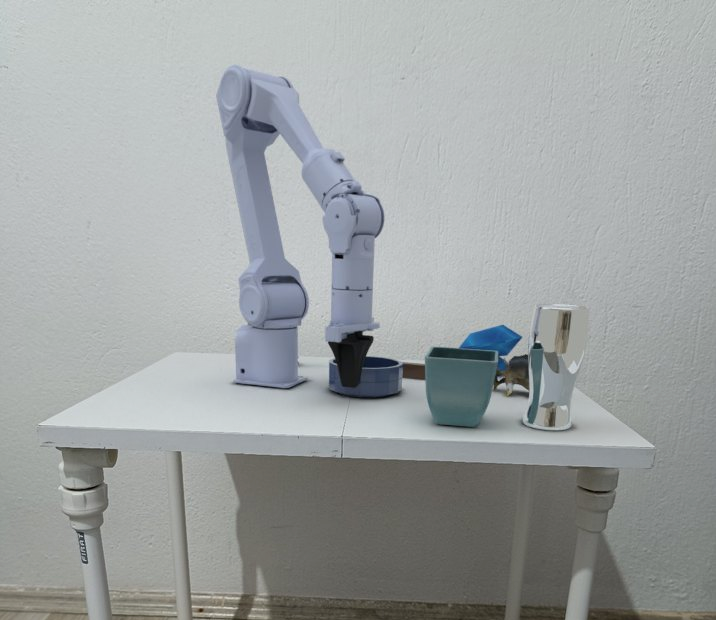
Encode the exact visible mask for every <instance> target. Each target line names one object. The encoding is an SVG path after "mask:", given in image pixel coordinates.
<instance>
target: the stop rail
mask: <svg viewBox="0 0 716 620" xmlns="http://www.w3.org/2000/svg"><path fill="white" fill-rule="evenodd" d="M401 362H402V363H403V376H402V379H403V378H404V379H414V380H424V381H426V380H425V363H418V362H408V361H401Z"/></svg>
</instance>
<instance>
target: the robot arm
mask: <svg viewBox="0 0 716 620" xmlns="http://www.w3.org/2000/svg"><path fill="white" fill-rule="evenodd" d="M215 98H216V103H217V107H218V113H219V117H220V122H221V127H222V132H223V135H224V137H225V147H226V155H227V158H228V163H229V169H230V173H231V178H232V182H233V187H234V192H235V198H236V202H237V207H238V212H239V217H240V222H241V227H242V232H243V236H244V241H245V247H246V252H247V256H248V261H249V264H248V266H247V267H246V269H244V271H243V272H242V273H241V274H240V276H239V277H238V278H237V281H238V286H239V297H238V304H239V305H238V306H239V310H240V313H241V315H242V318H244V321H246V324H242V325H241V326H240V327H239V328H238V329H237V331H236V335H235V339H234V350H235V351H234V354H235V355H234V357H235V379H233V383H235V384H243V385H244V384H245V385H253V386H262V387H272V388H280V389H281V388H282V389H289V388H291V387H294V386H296V385H298V384H300V383H303V382H305V381H307V380H308V377H307V376H304V375H303V376H302V375H299V364H298V362H299V358H298V357H299V327H300V326H302V320H303V319H304V318H305V317H306V316H307V314H308V311H309V307H310V300H309V299H310V298H309V294H308V290H307V289H306V287H305V286H304V284H303V282H302V279H301V275H300V271H299V269H297V268H296V267H295V266H294V265H293V264H291V262H290V261H288V260H287V259H286V256H285V252H284V246H283V241H282V236H281V231H280V226H279V221H278V216H277V212H276V211H277V210H276V205H275V201H274V196H273V191H272V186H271V185H272V184H271V181H270V176H269V170H268V166H267V165H268V164H267V161H266V155H265V152H266V150H267V148H268V147H269V146H271V145H273V144H274V143H275V141H276V140H277V138H278V137H279V136H281V137H282V138H283V140H284V141H285V142H286V144H287V145H288V146H289V148H290V149H291V150H292V152H293V153H294V154H295V156H296V157H297V158H298V160H299V161H300V162H301V164H302V166H301V178H302V180H303V182H304V183H305V185H306V186H307V188H308V189H309V191H310V192H311V194H312V196H313V197H314V199H315V200H316V202H317V203H318V205H319V206H320V208H321V210H322V211H323V212H324V215H322V225H323V229H324V231H325V233H326V235H327V237H328V249H329V252H330V253H331V292H330V293H331V295H330V301H331V302H330V320H329V322H328V325H326V326H325V328H324V329H325V330H324V341H325V342H327V344H328V346H329V348H330V350H331V351H332V355H333V356H334V357H333V358H335V360H336V363H337V367H338V372H339V377H340V381H341V385H342V387H350V388H356V387H357V386H358V383H359V380H360V376H361V372H362V368H363V364H364V360H365V357H366V356H368V352H369V350H370V349H371V346H372V345H373V343H374V338H375V337H374V336H373V335H369V334H368V335H366V334H364V332H365V333H366V332H373V331H374V330H377V329H380V328H381V323H380V322H377V321H376V322H375V317H374V316H373V293H374V290H373V289H374V272H375V271H374V266H375V245H376V244H375V241H376V238H378V237H379V236H380V234H381V233H382V231H383V228H384V226H385V211H384V207H383V205H382V203H381V200H380V198H379V197H377V196H376V195H374V194H368V193H367V192H366V191H365V190H362V185H361V183H360V182H359V181H357V180H356V179H355V177H353V175H352V173H351V172H350V170H349V168H348V167H347V166H346V164H345V163H344V162H345V160H346V158H345V156H344V155H343V154H342V152H341V151H336V150H334V149H332V148H329V147H328V148H326V147H325V148H324V147H323V145H322V142H321V141H320V139H319V137H318V136H317V134H316V132H315V131H314V128H313V127H312V125H311V123H310V121H309V119H308V118H307V116H306V114H305V112H304V111H303V109H302V108H301V105H300V93H299V92H298V91H297V90H296V89H295V88H294V85H293V84H292V82H291V81H290V79H288V78H287V77H285V76H277V75H272V74H268V73H264V72H262V71H261V72H260V71H257V70H253V69H249V68H245V67H242V66H241V65H238V64H232V65H230V66H228V67H227V68H226V69H225V70H224V73H223V74H222V76H221V79H220V82H219V85H218V88H217V92H216V95H215Z"/></svg>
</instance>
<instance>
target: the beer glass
mask: <svg viewBox="0 0 716 620" xmlns="http://www.w3.org/2000/svg"><path fill="white" fill-rule="evenodd" d="M589 316H590V307H588V306H584V305H575V304H563V303H562V304H561V303H538V304H535V305H534V308H533V312H532V317H531V318H532V319H531V322H530V323H531V324H530V328H529V336H528V344H527V345H528V346H527V355H528V369H529V391H528V392H529V393H528V399H527V400H528V401H527V404H526V408H525V411H524V414H523V418H522V423H523V424H524V425H525V426H527V427H529V428H532V429H538V430H544V431H565V430H569V429H570V428H571V426H572V413H571V408H572V407H571V406H572V398H573V392H574V389H575V386H576V383H577V380H578V377H579V374H580V371H581V368H582V365H583V362H584V357H585V353H586V348H587V342H588V333H589V321H590V320H589V319H590V317H589Z"/></svg>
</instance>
